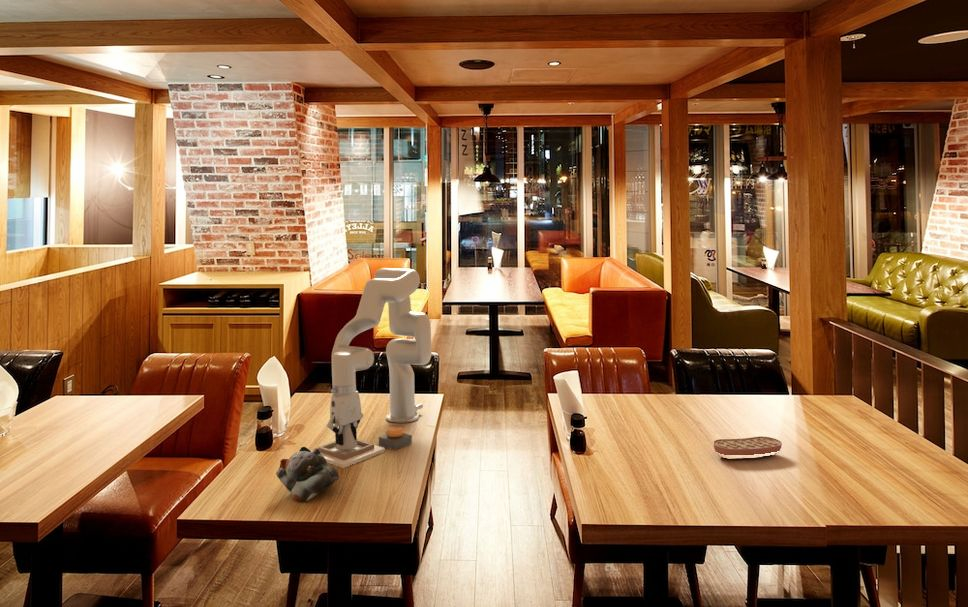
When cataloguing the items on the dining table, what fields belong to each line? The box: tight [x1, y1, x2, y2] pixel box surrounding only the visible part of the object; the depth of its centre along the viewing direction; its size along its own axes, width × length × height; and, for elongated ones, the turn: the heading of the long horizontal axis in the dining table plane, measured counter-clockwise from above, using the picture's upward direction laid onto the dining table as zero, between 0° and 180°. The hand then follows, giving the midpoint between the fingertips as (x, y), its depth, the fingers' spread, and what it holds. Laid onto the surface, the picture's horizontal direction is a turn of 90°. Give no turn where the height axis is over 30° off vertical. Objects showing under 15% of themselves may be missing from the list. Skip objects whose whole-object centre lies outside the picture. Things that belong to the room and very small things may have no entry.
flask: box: [335, 424, 357, 450], centre depth 213 cm, size 7×7×10 cm
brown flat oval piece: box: [713, 436, 783, 455], centre depth 210 cm, size 23×10×5 cm, turn 100°
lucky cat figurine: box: [275, 446, 340, 503], centre depth 183 cm, size 15×12×14 cm
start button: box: [385, 426, 405, 438], centre depth 221 cm, size 6×6×4 cm
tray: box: [310, 438, 386, 469], centre depth 213 cm, size 18×18×3 cm
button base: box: [378, 432, 413, 451], centre depth 222 cm, size 8×8×3 cm
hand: (346, 441), depth 213 cm, fingers closed on flask, 5 cm apart
